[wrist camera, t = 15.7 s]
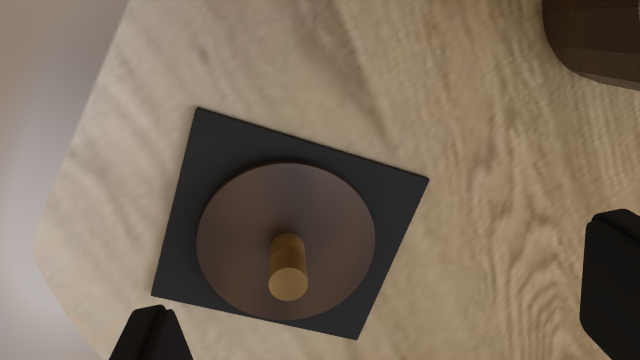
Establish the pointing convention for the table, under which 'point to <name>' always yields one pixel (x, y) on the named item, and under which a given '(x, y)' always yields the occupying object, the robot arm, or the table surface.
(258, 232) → the tin lid
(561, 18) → the tin
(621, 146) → the table surface
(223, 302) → the mat
